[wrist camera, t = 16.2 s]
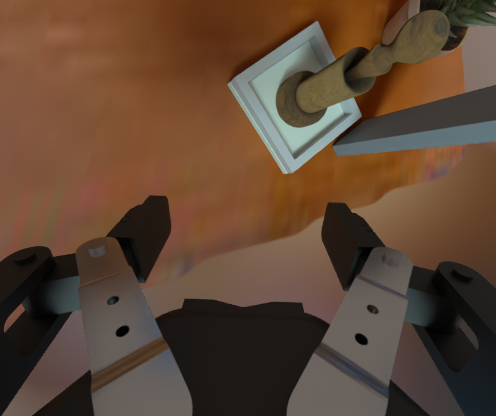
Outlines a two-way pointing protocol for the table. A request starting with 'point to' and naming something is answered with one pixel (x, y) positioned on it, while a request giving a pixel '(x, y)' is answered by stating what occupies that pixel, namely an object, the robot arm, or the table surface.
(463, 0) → the potted plant
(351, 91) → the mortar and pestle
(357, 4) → the table surface
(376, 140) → the overhang shelf
